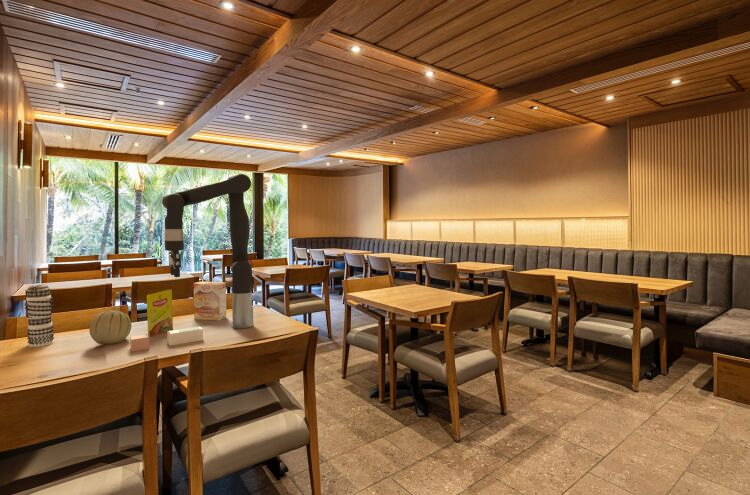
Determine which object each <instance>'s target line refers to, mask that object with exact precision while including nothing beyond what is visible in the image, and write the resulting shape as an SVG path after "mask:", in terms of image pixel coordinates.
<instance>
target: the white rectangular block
mask: <svg viewBox="0 0 750 495" xmlns="http://www.w3.org/2000/svg"><path fill="white" fill-rule="evenodd" d="M166 333H167V334H166V336H167V338H166V340H167V344H168V346H174V345H181V344H187V343H192V342H198V341H204V329H203V327H201V326H191V327H187V328H186V327H185V328H181V329H173V330H172V331H167V332H166Z"/></svg>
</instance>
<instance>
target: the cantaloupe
mask: <svg viewBox="0 0 750 495" xmlns="http://www.w3.org/2000/svg"><path fill="white" fill-rule="evenodd" d="M131 330H132V320H131V318H130V317H129V315H128V314H126V313H125V312H123V311H121V310H116V308H115V307H113V308H112V310H111V309H109V310H104V311H101V312H100V313H98V314H96V315H95V316H94V317H93V319H92V321H91V322H90V324H89V330H88V331H89V335H90V337H91V338H92V341H94V342H95V343H97V344H99V345H103V346H106V345H112V344H113V345H114V344H118V343H122V342H123V341H124V340H126V339H127V338H128V336H129V335H130V334H131Z"/></svg>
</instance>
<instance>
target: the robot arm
mask: <svg viewBox="0 0 750 495" xmlns="http://www.w3.org/2000/svg"><path fill="white" fill-rule="evenodd" d="M251 185H252V180H251V178H250V177H249V176H248V175H246V174H245V173H236V174H232V175H230V176H228V178H227V179H225V180H222V181H218V182H214V183H210V184H205V185H204V184H203V185H199V186H195V187H191V188H189V189H186V190H184V191H178V192H174V193H168V194H166V195H165V196H164V197H163V198H162V206H163V207H164V208H165V209H166V216H165V218H164V233H163V234H164V235H163V236H164V250H165V251H166V252H167V251H168V261H169V262H168V264H169V268H170V275H171V276H174V278H180V277H181V268H182V259H181V258H182V256H181V255H182V254H181V253H179V251H184V249H185V239H184V226H183V225H184V224H183V223H184V222H183V217H184V209H185V207H187V206H191V205H196V204H199V203H204V202H207V201H209V200H212V199H215V198H219V197H222V196H225V195H227V196H228V203H229V204H228V205H229V206H228V207H229V209H228V210H229V213H228V214H229V235H230V244H231V250H232V251H231V252H232V253H231V256H232V257H231V267H230V269H231V270H230V271H231V273H232V274H231V276H232V280H231V281H232V282H231V283H232V285H231V304H232V305H231V307H232V309H231V311H232V315H231V316H232V328H233V329H247V328H250V327H251V328H252V327H253V326H254V306H253V302H252V300H253V299H252V297H253V296H252V295H253V294H252V292H253V291H252V290H253V287H252V286H253V268H252V265H251V264H250V261H249V253H248V246H249V241H250V218H249V214H248V212H247V209H246V206H245V200H244V199H245V196H244V195H245V193H247V191H249V190H250V188H251V187H252V186H251Z"/></svg>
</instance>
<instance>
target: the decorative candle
mask: <svg viewBox="0 0 750 495" xmlns="http://www.w3.org/2000/svg"><path fill="white" fill-rule="evenodd" d="M25 291H26V299H25V300H26V302H25V303H24V306H25V307H24V310H26V311H25V318H26V319H27V321H28V324H27V329H26V331H27V333H26V335H27V343H28V345H27V346H28V347H29V348H34V347H35V348H37V347H43V346H48V345H51V344H53V343H54V342H55V340H54V339H55V333H54V327H55V326H54V325H53V320H52V316H53V315H54V314H53V312H51V311H53V310H54V308H52V307H54V305H53V304H52V303H53V302H54V300H53V298H54V296H52V294H51V287H49V286H48V285H47V284H32V285H29V286H28V287H27V289H25Z"/></svg>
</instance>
